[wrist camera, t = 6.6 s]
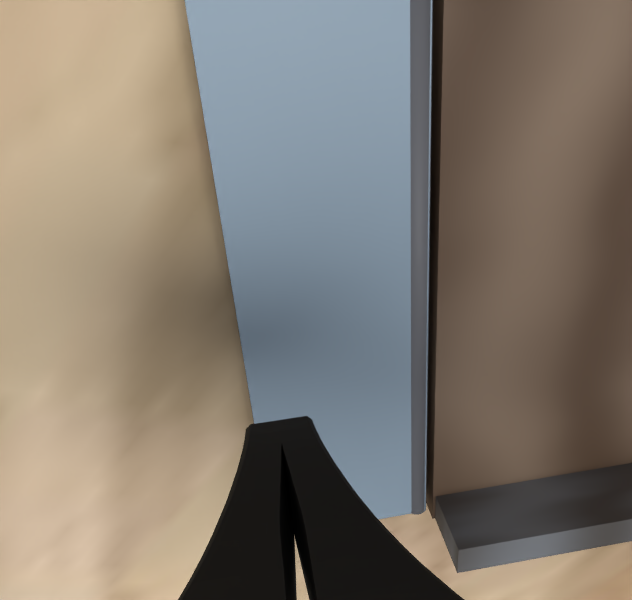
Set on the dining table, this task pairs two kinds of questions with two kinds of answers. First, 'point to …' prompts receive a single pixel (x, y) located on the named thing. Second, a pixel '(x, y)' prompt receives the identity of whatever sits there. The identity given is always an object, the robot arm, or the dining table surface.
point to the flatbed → (530, 278)
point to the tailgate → (328, 220)
